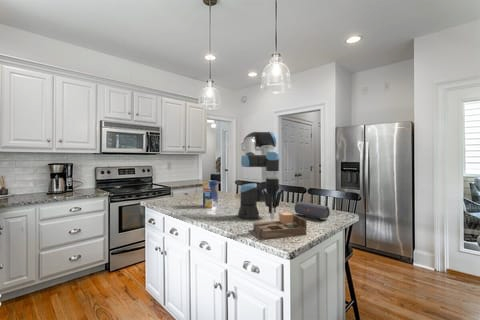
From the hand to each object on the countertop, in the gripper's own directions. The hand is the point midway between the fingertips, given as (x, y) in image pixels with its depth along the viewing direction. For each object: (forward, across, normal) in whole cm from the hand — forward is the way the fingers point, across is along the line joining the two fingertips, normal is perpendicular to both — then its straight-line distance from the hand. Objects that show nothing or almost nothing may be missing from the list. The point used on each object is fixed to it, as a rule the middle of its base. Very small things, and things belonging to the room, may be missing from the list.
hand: (272, 218), depth 138 cm
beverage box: (+7, -21, +73) cm, 77 cm away
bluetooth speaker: (+7, +40, +17) cm, 44 cm away
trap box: (+7, +2, -4) cm, 8 cm away
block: (+3, +9, 0) cm, 9 cm away
